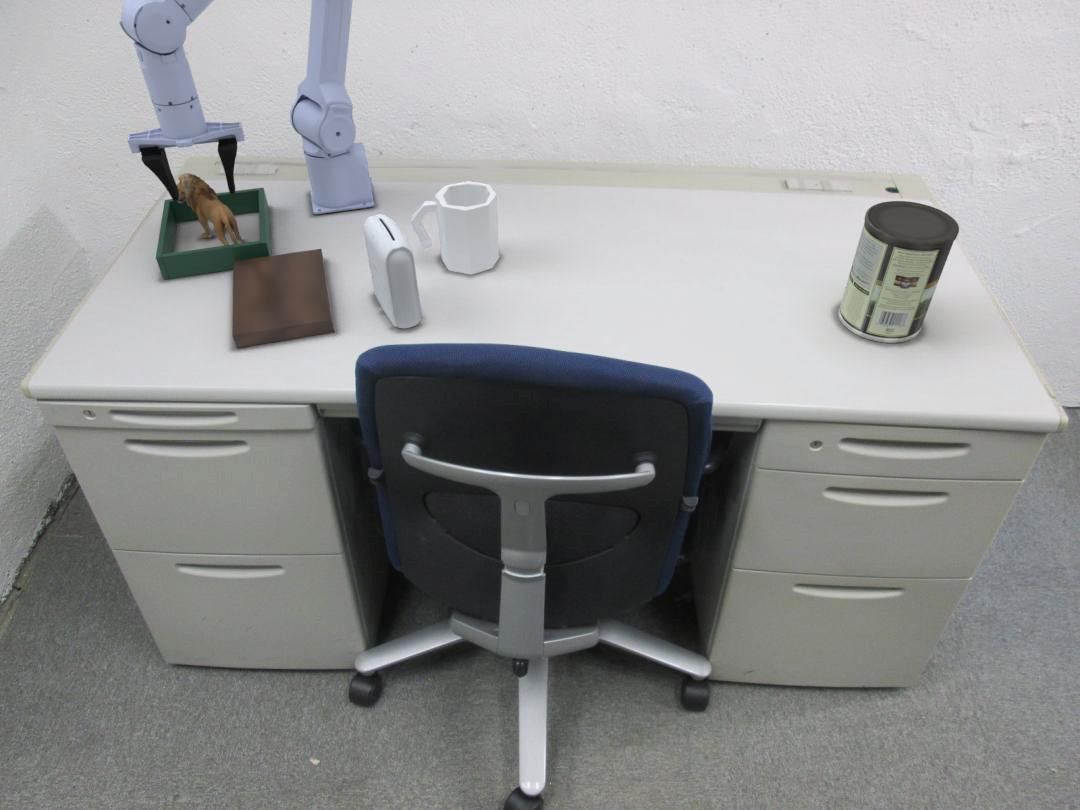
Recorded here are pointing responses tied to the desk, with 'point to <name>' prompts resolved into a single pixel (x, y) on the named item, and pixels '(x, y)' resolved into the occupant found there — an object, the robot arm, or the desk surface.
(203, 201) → the lion figurine
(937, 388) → the desk surface
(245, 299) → the stand
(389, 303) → the photo printer
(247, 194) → the storage box
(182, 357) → the desk surface
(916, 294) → the coffee can
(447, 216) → the mug
